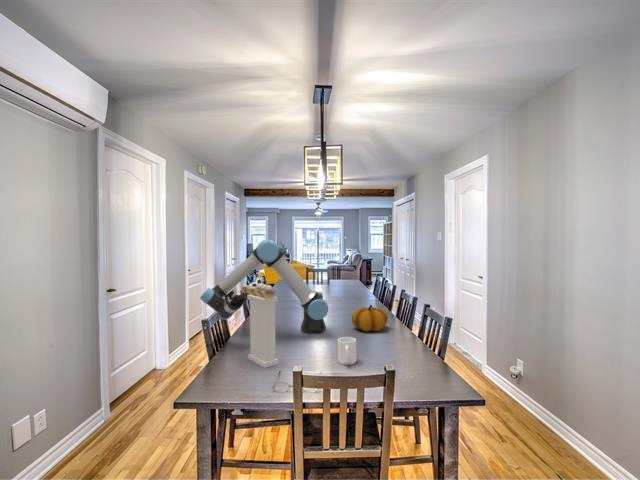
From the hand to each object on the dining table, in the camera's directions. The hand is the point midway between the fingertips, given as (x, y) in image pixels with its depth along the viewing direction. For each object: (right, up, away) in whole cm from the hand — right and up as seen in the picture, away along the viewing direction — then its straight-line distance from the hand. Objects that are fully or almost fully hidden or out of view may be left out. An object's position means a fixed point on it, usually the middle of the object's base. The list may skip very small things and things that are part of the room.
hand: (250, 287), depth 168 cm
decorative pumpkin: (+64, -32, +43) cm, 83 cm away
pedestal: (+7, -33, -8) cm, 35 cm away
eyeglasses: (+25, -34, -30) cm, 52 cm away
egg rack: (+4, -3, -5) cm, 7 cm away
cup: (+46, -33, -11) cm, 57 cm away
